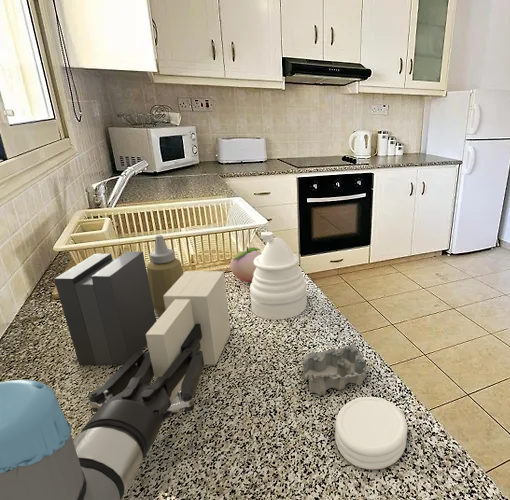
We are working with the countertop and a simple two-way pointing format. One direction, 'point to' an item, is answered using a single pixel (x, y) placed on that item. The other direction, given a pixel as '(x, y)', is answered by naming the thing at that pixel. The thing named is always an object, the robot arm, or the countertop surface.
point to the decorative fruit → (244, 264)
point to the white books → (205, 308)
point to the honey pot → (277, 282)
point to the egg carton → (334, 369)
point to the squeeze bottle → (162, 273)
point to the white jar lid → (371, 432)
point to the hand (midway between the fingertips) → (189, 330)
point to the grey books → (107, 307)
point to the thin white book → (169, 338)
